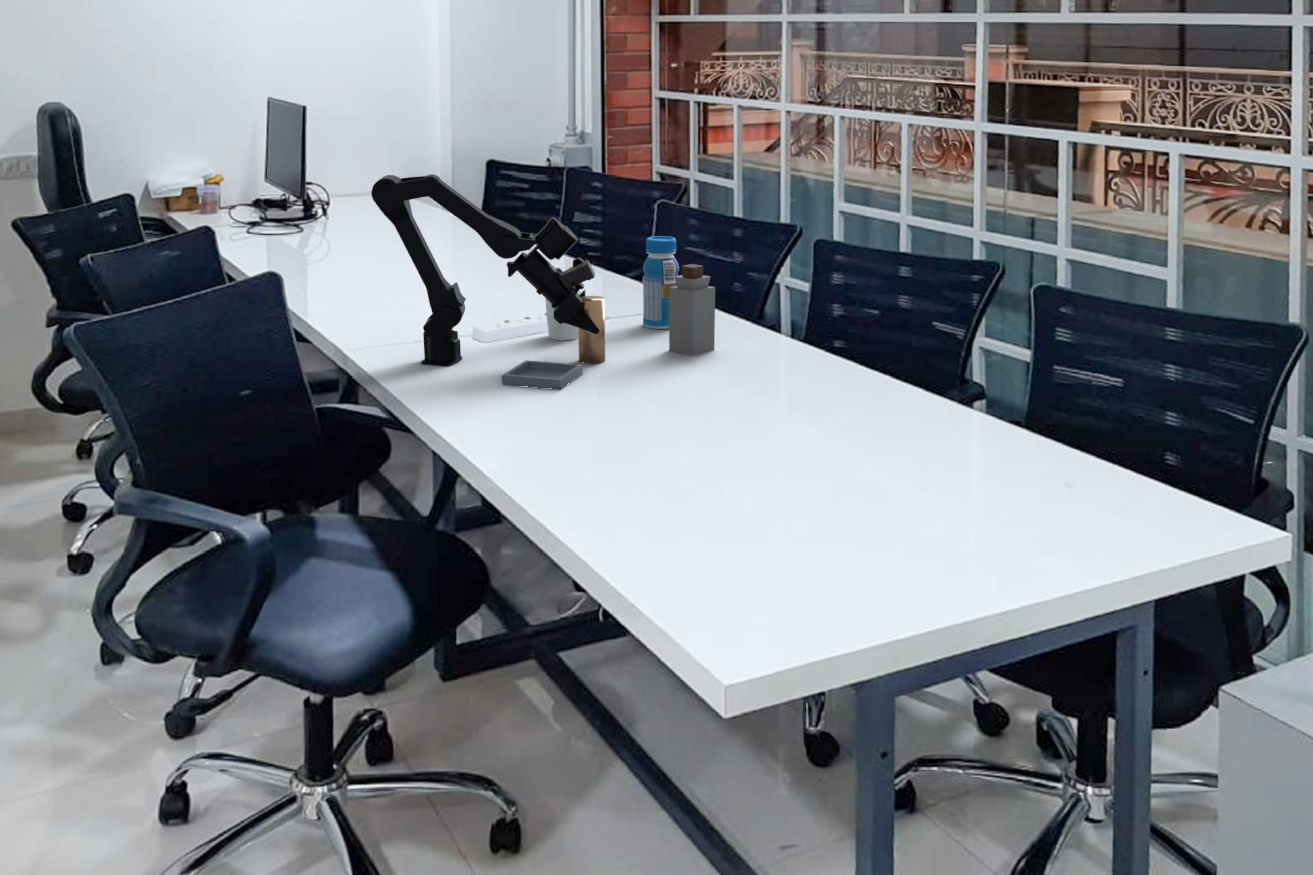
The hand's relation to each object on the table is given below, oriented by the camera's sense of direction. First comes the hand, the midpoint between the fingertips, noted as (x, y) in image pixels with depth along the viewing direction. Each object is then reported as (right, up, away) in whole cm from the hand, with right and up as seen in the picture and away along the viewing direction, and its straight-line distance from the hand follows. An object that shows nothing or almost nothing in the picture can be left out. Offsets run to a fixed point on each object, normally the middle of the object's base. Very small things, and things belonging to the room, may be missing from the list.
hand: (598, 329), depth 282 cm
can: (-1, -6, +2) cm, 7 cm away
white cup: (-9, 0, +22) cm, 24 cm away
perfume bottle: (+19, -4, +11) cm, 22 cm away
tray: (-10, -11, -12) cm, 19 cm away
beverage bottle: (+13, +3, +33) cm, 35 cm away
